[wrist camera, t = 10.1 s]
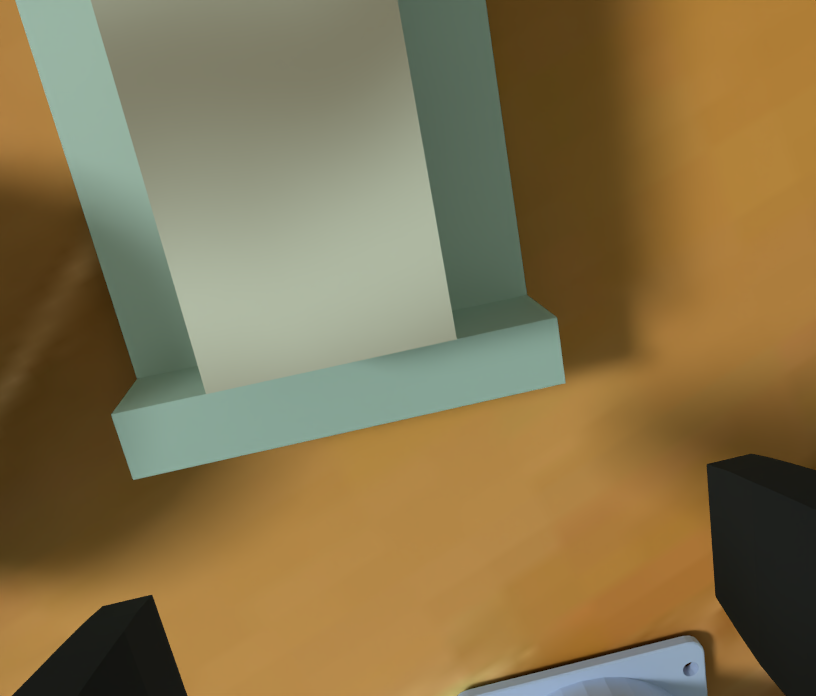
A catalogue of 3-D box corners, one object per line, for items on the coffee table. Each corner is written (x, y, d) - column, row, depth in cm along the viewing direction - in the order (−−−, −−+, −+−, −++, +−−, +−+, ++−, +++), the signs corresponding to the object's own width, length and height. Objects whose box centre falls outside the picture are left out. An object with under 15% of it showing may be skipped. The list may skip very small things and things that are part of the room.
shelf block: (422, 290, 17) (457, 339, 13) (232, 330, 16) (206, 394, 12) (327, -220, 14) (332, -370, 10) (93, -182, 13) (-3, -318, 9)
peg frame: (530, 360, 20) (567, 398, 17) (165, 441, 19) (138, 495, 16) (427, -363, 15) (454, -482, 12) (-67, -287, 14) (-162, -394, 11)
